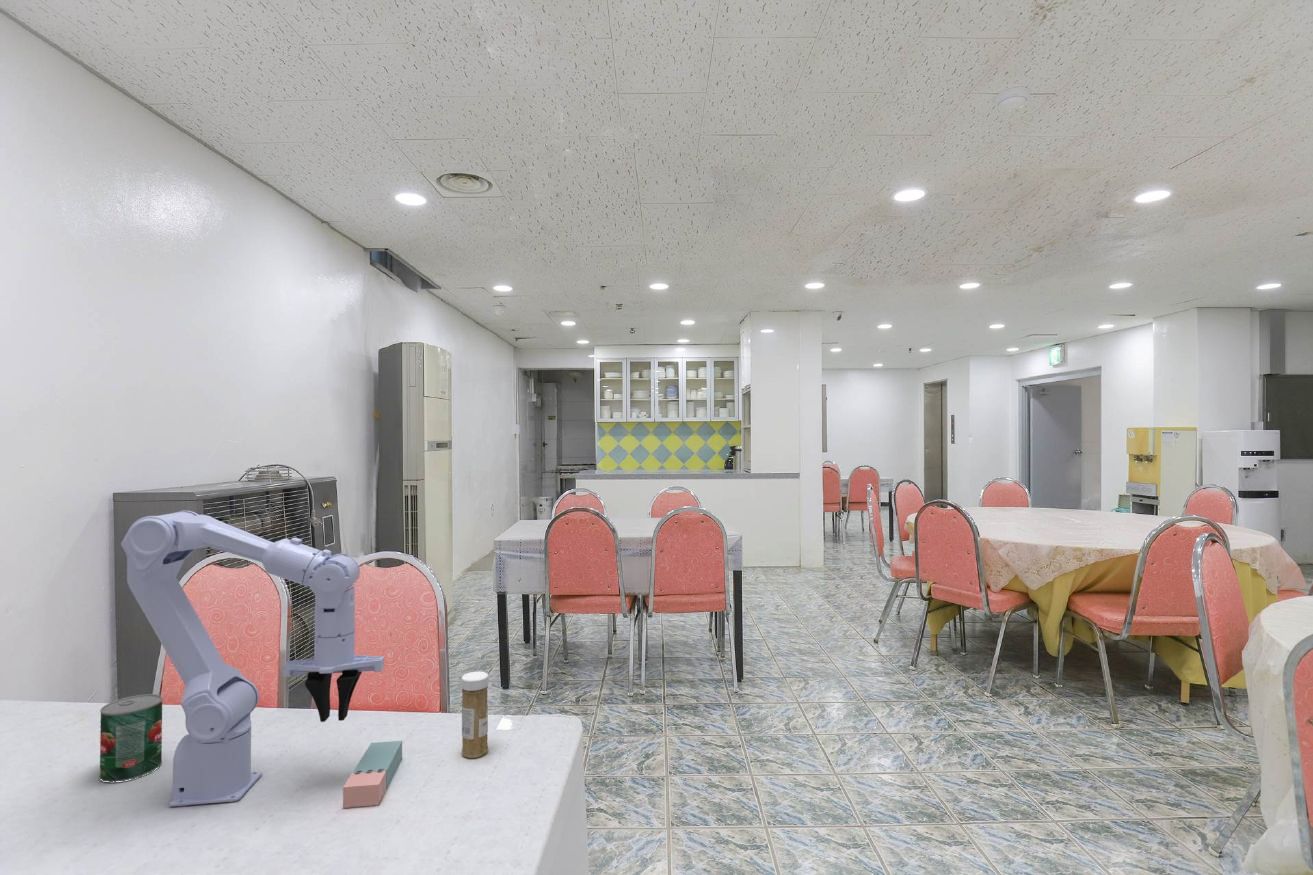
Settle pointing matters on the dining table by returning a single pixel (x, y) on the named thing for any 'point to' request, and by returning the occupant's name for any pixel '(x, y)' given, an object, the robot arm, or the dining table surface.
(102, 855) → the dining table surface
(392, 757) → the teal elongated prism
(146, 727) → the canned tomato
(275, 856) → the dining table surface
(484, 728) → the sprinkles bottle
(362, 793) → the stub
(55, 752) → the dining table surface
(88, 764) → the dining table surface
